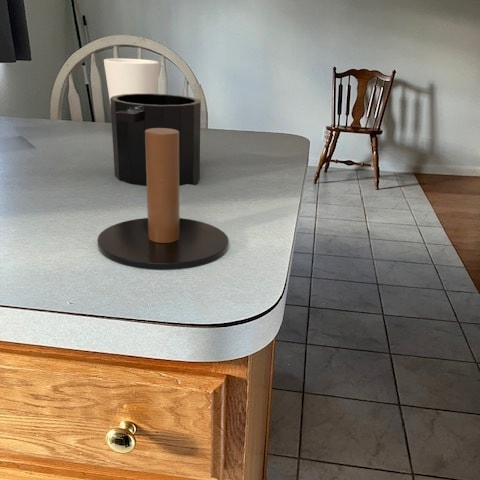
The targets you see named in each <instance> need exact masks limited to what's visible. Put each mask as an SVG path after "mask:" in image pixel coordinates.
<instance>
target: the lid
mask: <svg viewBox="0 0 480 480" xmlns="http://www.w3.org/2000/svg"><path fill="white" fill-rule="evenodd" d="M145 147H146V178H147V186H146V204H147V205H146V206H147V207H146V209H147V217H143V218H135V219H129V220H126V221H121V222H118V223H115V224H113V225H110V226H109V227H107V228H105V229H104V230H103V231H101V232H100V233H99V235H98V237H97V249H98V250H99V253H101V254H102V255H103V256H104V257H105V258H107V259H109V260H110V261H113V262H116V263H118V264H121V265H124V266H128V267H133V268H140V269H145V270H181V269H190V268H195V267H200V266H203V265H206V264H209V263H212V262H215V261H216V260H218V259H220V258H221V257H222V256H224V255H225V254H226V253H227V252H228V249H229V237H228V236H227V234H226V233H225V232H224V231H223V230H221V229H220V228H218V227H217V226H215V225H212V224H209V223H205V222H203V221H199V220H194V219H189V218H182V217H180V186H179V131H177V130H175V129H169V128H151V129H147V130H145Z"/></svg>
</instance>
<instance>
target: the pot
mask: <svg viewBox="0 0 480 480" xmlns="http://www.w3.org/2000/svg"><path fill="white" fill-rule="evenodd" d="M201 101H202V100H201V99H198V98H195V97H190V96H186V95H185V96H184V95H176V94H167V93H166V94H165V93H157V94H122V95H117V96H112V97H111V98H110V100H109V104H110V103H111V106H110V119H111V134H112V151H113V166H114V167H113V168H114V177H115V178H116V179H117V180H118V181H120V182H123V183H125V184H129V185H134V186H141V187H147V178H146V147H145V130H147V129H151V128H169V129H175V130H177V131H179V187H180V186H185V185H189V186H190V185H191V186H197V185H198V184H199V182H200V180H201V179H200V177H201V176H200V173H201V172H200V169H201V168H200V167H201V117H202V115H201V109H202V108H201V106H202V105H201V104H202V102H201Z"/></svg>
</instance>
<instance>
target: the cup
mask: <svg viewBox="0 0 480 480" xmlns="http://www.w3.org/2000/svg"><path fill="white" fill-rule="evenodd" d="M103 64H104V73H105V79H106V85H107V92H108V99H109V101H110V98H111V97H112V96H117V95H122V94H158V82H159V70H160V69H159V68H160V62H159V61H157V60H152V59H144V58H142V59H141V58H123V57H122V58H121V57H119V58H118V57H117V58H116V57H115V58H113V57H112V58H104V59H103ZM109 106H110V107H111V103H110V102H109Z"/></svg>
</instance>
